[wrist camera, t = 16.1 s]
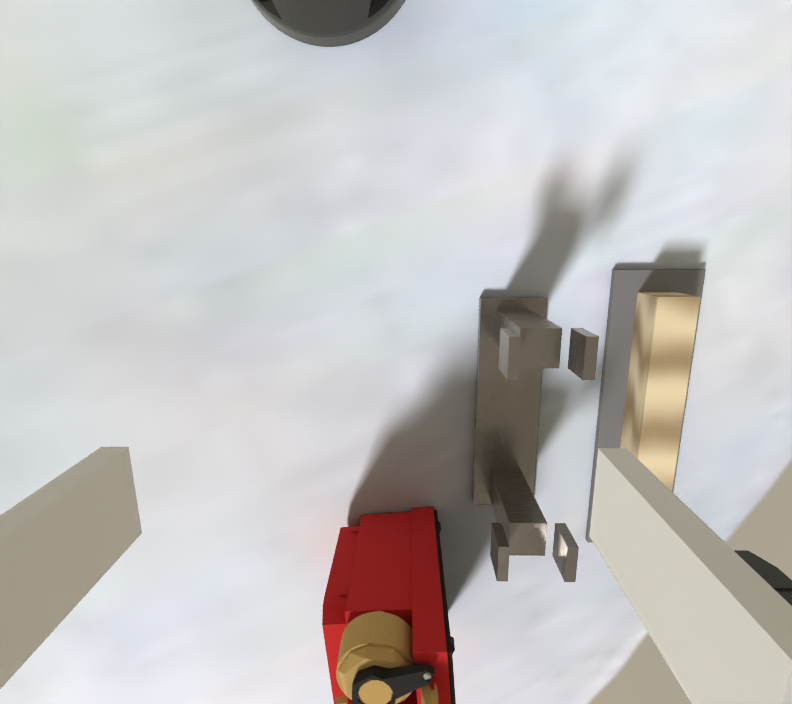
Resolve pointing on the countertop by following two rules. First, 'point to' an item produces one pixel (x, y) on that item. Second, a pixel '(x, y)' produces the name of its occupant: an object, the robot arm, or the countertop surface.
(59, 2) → the countertop surface
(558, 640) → the countertop surface
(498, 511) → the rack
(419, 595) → the red coffee machine
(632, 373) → the rail
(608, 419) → the mat
